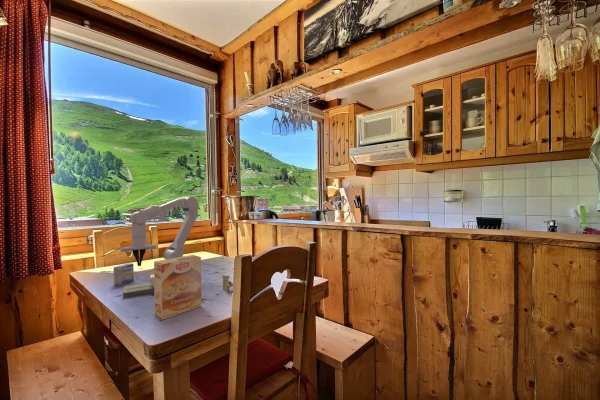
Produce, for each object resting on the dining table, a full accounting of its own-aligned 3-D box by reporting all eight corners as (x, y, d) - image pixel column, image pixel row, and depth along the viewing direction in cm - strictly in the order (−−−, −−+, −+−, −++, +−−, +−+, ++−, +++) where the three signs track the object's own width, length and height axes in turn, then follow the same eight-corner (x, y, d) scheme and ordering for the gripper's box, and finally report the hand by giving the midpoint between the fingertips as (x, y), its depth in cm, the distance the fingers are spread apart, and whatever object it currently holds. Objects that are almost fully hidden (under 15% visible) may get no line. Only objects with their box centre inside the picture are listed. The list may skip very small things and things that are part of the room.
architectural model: (229, 289, 125) (229, 273, 125) (236, 293, 120) (235, 276, 120) (222, 290, 123) (222, 274, 123) (228, 295, 118) (228, 278, 118)
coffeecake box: (162, 320, 93) (161, 264, 93) (153, 314, 98) (152, 261, 98) (202, 306, 104) (201, 256, 104) (193, 302, 109) (192, 254, 109)
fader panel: (161, 285, 131) (161, 280, 131) (162, 291, 122) (162, 286, 122) (124, 290, 123) (124, 286, 123) (123, 297, 115) (123, 292, 115)
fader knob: (159, 282, 129) (159, 273, 128) (160, 284, 124) (160, 275, 124) (150, 283, 126) (150, 274, 126) (150, 286, 122) (150, 277, 122)
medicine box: (121, 284, 132) (120, 267, 132) (113, 284, 133) (113, 266, 133) (134, 280, 140) (133, 263, 140) (126, 279, 141) (126, 263, 141)
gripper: (119, 239, 121) (120, 269, 121) (156, 236, 128) (157, 265, 128) (121, 237, 127) (121, 266, 127) (155, 235, 134) (156, 262, 134)
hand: (139, 265), depth 128 cm, fingers closed
